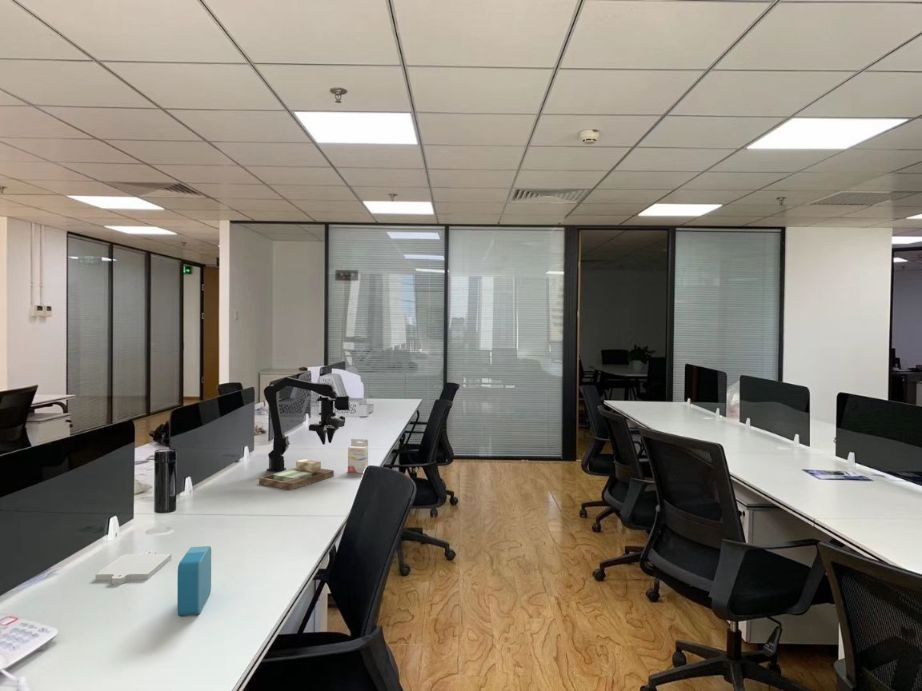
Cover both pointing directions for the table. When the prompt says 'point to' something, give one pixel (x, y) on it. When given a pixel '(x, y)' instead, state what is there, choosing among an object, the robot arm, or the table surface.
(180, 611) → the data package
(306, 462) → the maple slab
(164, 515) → the table surface
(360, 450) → the ink cartridge box
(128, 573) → the mounting plate
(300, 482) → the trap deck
